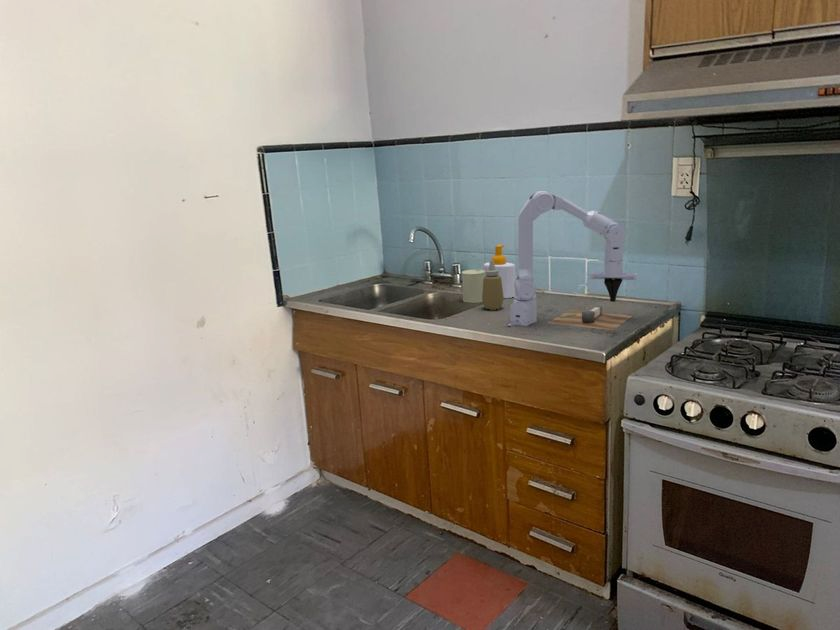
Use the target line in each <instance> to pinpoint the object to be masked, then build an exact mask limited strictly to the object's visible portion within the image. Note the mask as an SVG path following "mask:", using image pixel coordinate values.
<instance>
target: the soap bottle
mask: <svg viewBox="0 0 840 630" xmlns="http://www.w3.org/2000/svg"><path fill="white" fill-rule="evenodd" d="M504 246H505V245H504V244H499V245H495V246H494V248H495V249H494V250H495V252H494V253H495V254H494V256H492V258H491V261H492V260H493V261H494V265H495V269H496V270H498V276H500V277H501V280H502V288H503V296H504V299H513V298H514V296H515V295H516V289H515V286H514V284H515V281H516V265H515V264H514V263H511V262H507V258H506V256H505V255H503V248H504ZM489 264H490V262H486V263H484V264H483V270H484V271H485V276H487V275H486V270H489ZM512 297H513V298H512Z"/></svg>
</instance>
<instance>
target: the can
mask: <svg viewBox="0 0 840 630" xmlns="http://www.w3.org/2000/svg"><path fill="white" fill-rule="evenodd" d="M484 277H485V271H484V269H467V270H463V271H461V279H462V301H463V302H464V303H467V304H468V303H469V304H477V303H478V304H479V303H483V301H482V292H483V278H484Z"/></svg>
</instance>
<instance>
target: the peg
mask: <svg viewBox="0 0 840 630" xmlns="http://www.w3.org/2000/svg"><path fill="white" fill-rule="evenodd" d="M582 311H583V310H582ZM602 313H603V305H602V306H601V305H597V306H594V308H592V309H591V310H584V311H583V312H582V322H585V323H592V322H594V321H595V318H596V317H597V316H599V315H600V314H602Z"/></svg>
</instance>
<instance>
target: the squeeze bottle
mask: <svg viewBox="0 0 840 630" xmlns="http://www.w3.org/2000/svg"><path fill="white" fill-rule="evenodd" d="M489 263H490V264H489V270H486V275H487V276H485V277H484V278H483V292H482V301H483V302H482V304H483V306H484V309H485V308H486V309H485V310H487V309H490V310H489V311H497V310H501V309H500V308H502V305H503V302H504V299H505V298H504V296H503V288H502V280H501V277H500V276H498V270H496V269H495V265H494V261H493V260H492V259H491V260H490V261H489ZM496 309H497V310H496Z"/></svg>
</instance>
